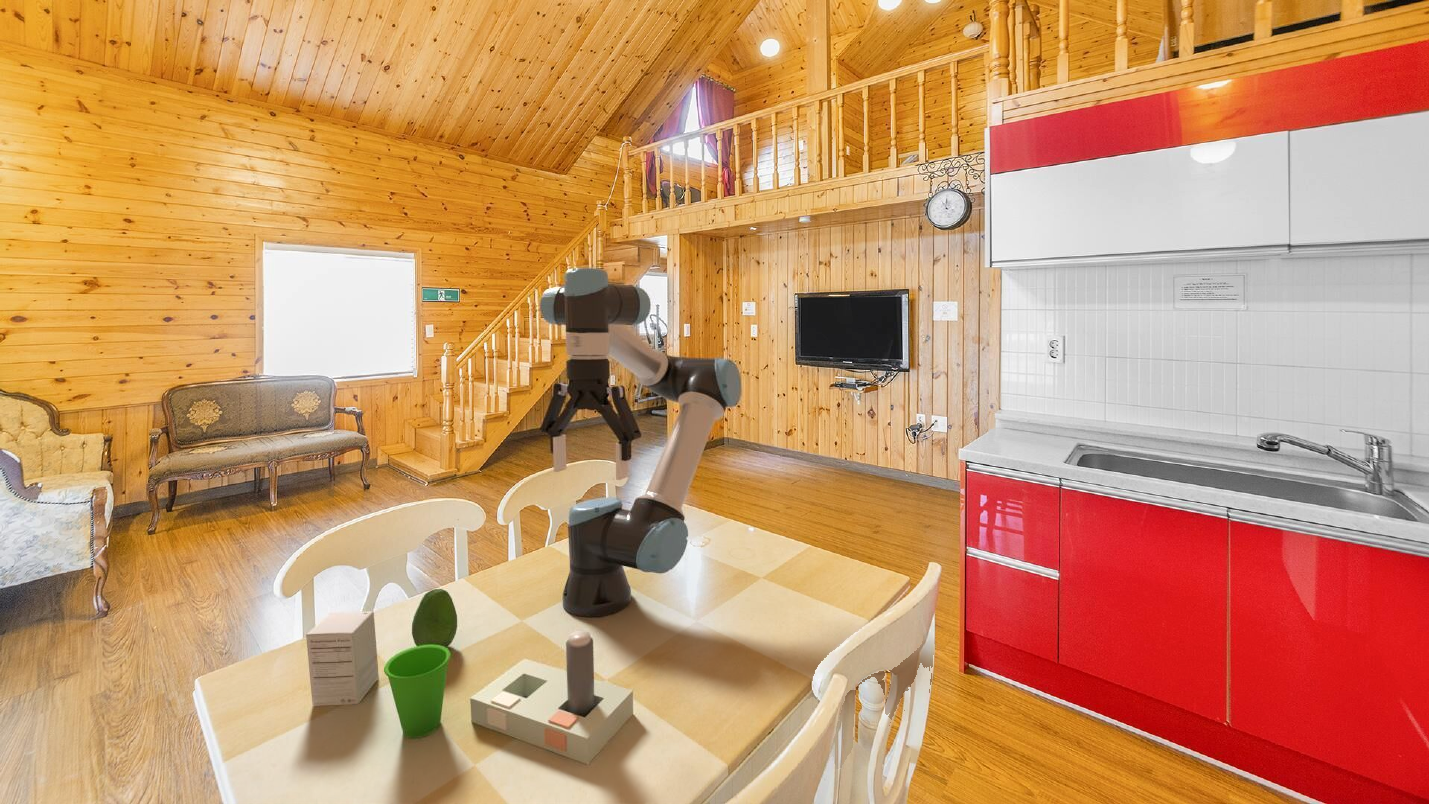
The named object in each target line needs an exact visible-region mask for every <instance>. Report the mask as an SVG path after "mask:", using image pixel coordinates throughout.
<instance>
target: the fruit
mask: <svg viewBox="0 0 1429 804" xmlns="http://www.w3.org/2000/svg"><path fill="white" fill-rule="evenodd" d="M457 631H458V614H457V610H456V607H455V604H454V602H453V598H452V596H451V595H450V593H449V592H448V591H447V590H445V589H443V588H435V589H431V590H429V591H428V592H426V593H425V594H424V595H423V596H422V598H421V601H420V602H419V605H418V606H417V609H416V611H415V614H414V615H413V620H412V623H411V635H412V636H411V637H412V639H413V642H414V645H415V647H416V646H422V645H440V646H444V647H446V648H447V649H448V647H449V646H450V645H451V644H452V643H453V641H454V639H455V637H456V633H457Z"/></svg>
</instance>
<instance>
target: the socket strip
mask: <svg viewBox="0 0 1429 804" xmlns="http://www.w3.org/2000/svg"><path fill="white" fill-rule="evenodd" d="M469 700H470V716H471V718H470V719H471V723H474V724H476V725H479V726H482V727H485V728H487V729H490V730H493V731H495V732H499V733H500V734H504V735H506V736H509V737H512V738H514V739H517V740H519V741H523V742H525V743H529V744H530V745H533V746H536V747H539V748H541V749H543V750H547V751H550V752H553V753H556V754H558V755H562V756H564V757H567V758H569V759H572V760H575V761H577V762H580V763H582V764H585V765H589V764H590V763H591V762H592V761H593V760H594V759H595V757H596V756H597V755H598V754H599V753H600V752H601V751H602V749H604V747H606V745H607V744H608V743H609V742H610V740H611V739H612V738H613V737H614V735H616V734H617V733H618V731H620V729H621V728H622V727H623V726H624V725H625V724H626V722H627V721H628V720H629V719H630V718H631V717H632V716H633V715H634V690H632V689H628V688H625V687H622V686H619V685H615V684H612V683H609V682H605V681H602V680H598V679H595V678H594V701H595V708H594V709H593V710H592V711H591V712H590V713H589V714H588V715H587V716H586V717H581V716H578V715H575V714H572V713H569V712H568V697H567V670H565V669H562V668H558V667H554V666H550V665H548V664H545V663H540V662H539V661H535V660H531V659H527V658H523V659H522V660H520V661H519V662H517V663H516V664H514V665H513V666H512V667H511V668H509V669H508V670H507V671H506V672H504V673H503V674H501V675H500V676H498V677H497V678H496V679H494V680H493V681H492V682H489V683H488V684H487V685H486V686H485V687H483V688H482V689H481V690H479V691H478V692H476V693H475V694H474V695H472V696H471V697H470V698H469Z"/></svg>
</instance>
